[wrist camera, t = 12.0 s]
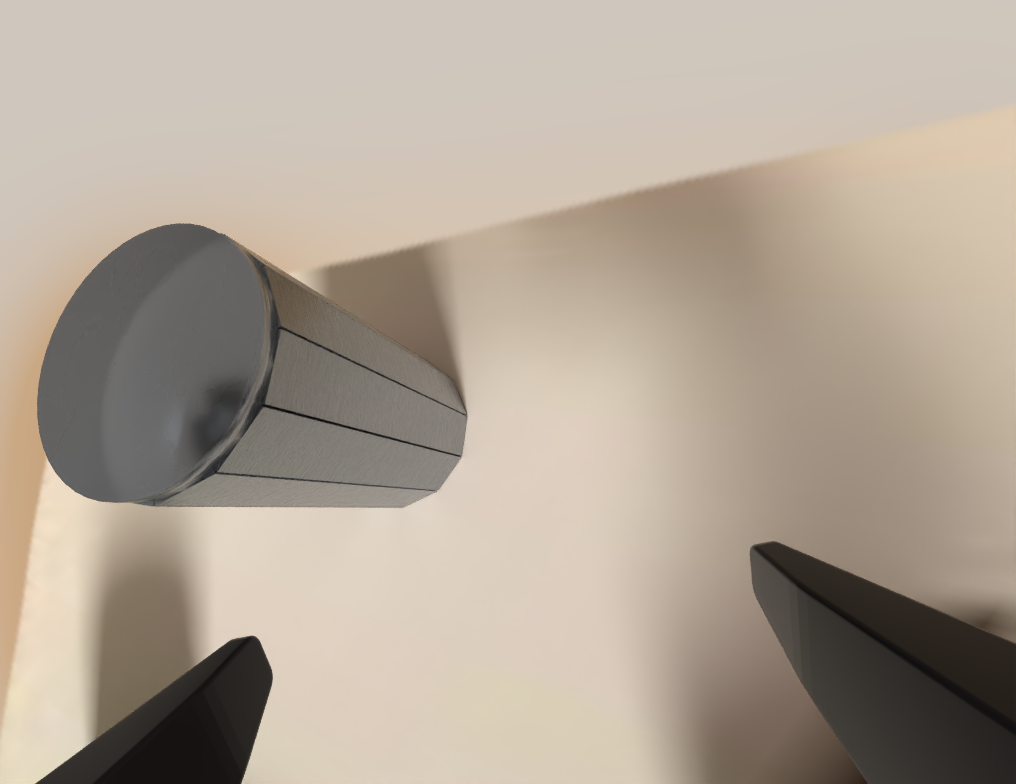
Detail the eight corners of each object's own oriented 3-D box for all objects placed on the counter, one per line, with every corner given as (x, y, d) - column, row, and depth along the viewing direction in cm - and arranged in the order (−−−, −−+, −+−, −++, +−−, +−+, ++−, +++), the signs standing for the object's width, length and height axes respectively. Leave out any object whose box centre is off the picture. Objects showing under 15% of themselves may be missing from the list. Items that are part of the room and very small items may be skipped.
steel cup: (453, 515, 23) (217, 521, 11) (321, 496, 25) (3, 484, 13) (474, 361, 24) (286, 215, 12) (347, 357, 27) (84, 230, 14)
